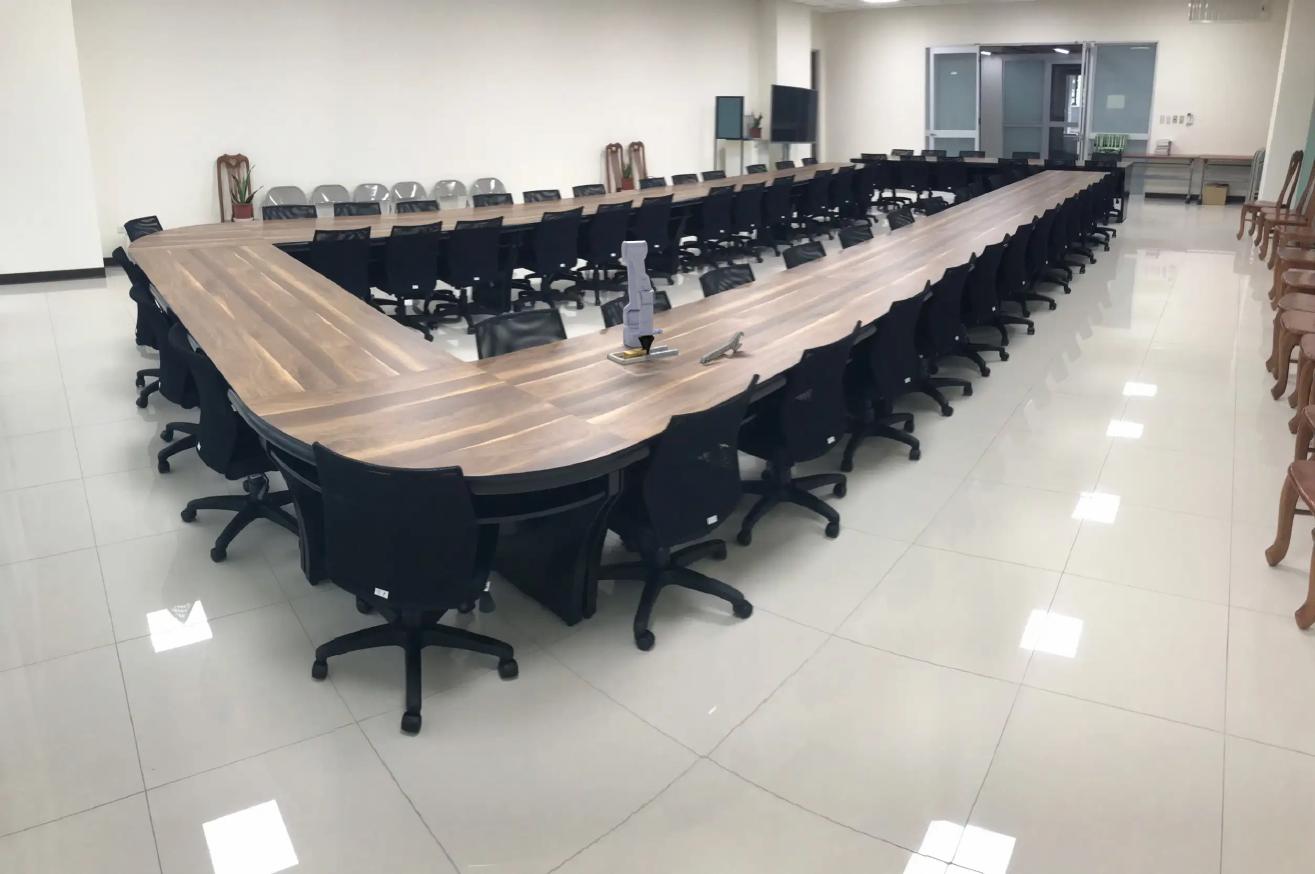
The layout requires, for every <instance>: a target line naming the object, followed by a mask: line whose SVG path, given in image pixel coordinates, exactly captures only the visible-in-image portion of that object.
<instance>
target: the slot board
mask: <svg viewBox="0 0 1315 874" xmlns="http://www.w3.org/2000/svg"><path fill="white" fill-rule="evenodd" d="M680 355H681V353H679V349H677V348H674V349H669V345H667V344H664V345H660V346H654V347H650V351H649V354H645V355H641V357H642V356H645V361H650V360H656V359H662V358H667V357H675V356H680ZM645 361H644V362H645Z"/></svg>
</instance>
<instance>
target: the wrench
mask: <svg viewBox="0 0 1315 874" xmlns="http://www.w3.org/2000/svg"><path fill="white" fill-rule="evenodd" d="M741 337H745V332H743V331H739V330H737V331H736V332H735V333H734V334H733V336H732V337H731V338H730V339H729V340H728V341H727V342H726V343H723V344H722V345H720V346H719V347H717V348H715V349H713V350H711V351H710V352H707V353H706V354H704V355H703V356H701V357H700V359H699V361H700V364H701V365H706V364H708V363H710V362H712V361H713V359H716V358H718V357H720V356H721V355H723V354H725V353H727V352H729V351H730V350H732V351H733V353H738V350H739V349H740V348H741V347H742V346H743V343H741V342H740V338H741Z"/></svg>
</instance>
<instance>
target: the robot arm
mask: <svg viewBox="0 0 1315 874" xmlns="http://www.w3.org/2000/svg"><path fill="white" fill-rule="evenodd" d="M620 249H621V260H622V262H623V263H625V264H626V270H627V283H628V285H627V287H628V299H629V301H628V304H626V305H625V306H624V307H623V310H622V311H623V312H622V321H623V325H624V327H623V330H622V344H620V345H622V346H624V345H626V346H627V347H631V348H643V349H646V354H649V351H650V348H652V344H653V342H654V340H655V336H657V335H663V329H662V328H654V305H655V304H656V293H655V290H654V289H653V288H654V287H652V286H651V285H652V284H651V280H650V276H649V275H648V274H647V273H646V267H645V266H646V265H645V259H646V258H647V254H648V242H646V240H635V241H634V240H633V241H632V240H631V241H625V240H624V241H622V243H621V248H620Z"/></svg>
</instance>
